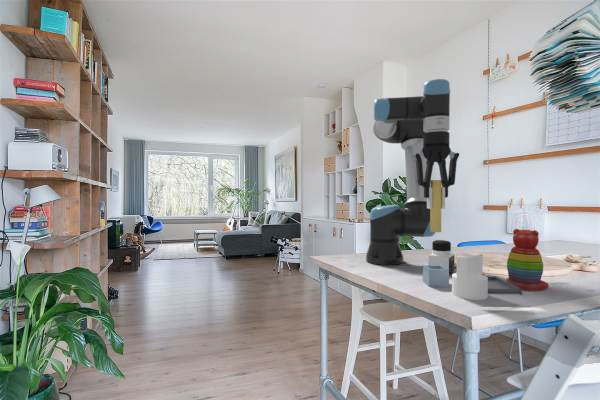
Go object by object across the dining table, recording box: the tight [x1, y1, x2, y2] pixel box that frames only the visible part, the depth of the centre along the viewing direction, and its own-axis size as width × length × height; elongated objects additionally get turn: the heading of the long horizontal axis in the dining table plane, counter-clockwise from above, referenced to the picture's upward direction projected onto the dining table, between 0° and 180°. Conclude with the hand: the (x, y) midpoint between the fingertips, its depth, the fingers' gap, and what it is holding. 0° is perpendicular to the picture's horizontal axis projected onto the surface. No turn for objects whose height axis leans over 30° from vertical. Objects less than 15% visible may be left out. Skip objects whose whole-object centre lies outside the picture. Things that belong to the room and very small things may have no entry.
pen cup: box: [422, 264, 450, 288], centre depth 108 cm, size 6×6×6 cm
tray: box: [485, 275, 523, 296], centre depth 105 cm, size 14×10×2 cm
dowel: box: [429, 179, 442, 233], centre depth 107 cm, size 3×3×16 cm
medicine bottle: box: [427, 239, 455, 276], centre depth 122 cm, size 7×7×12 cm
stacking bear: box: [506, 228, 549, 292], centre depth 106 cm, size 11×10×18 cm
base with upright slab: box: [451, 252, 489, 301], centre depth 97 cm, size 9×9×12 cm
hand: (435, 208), depth 107 cm, fingers closed on dowel, 3 cm apart
